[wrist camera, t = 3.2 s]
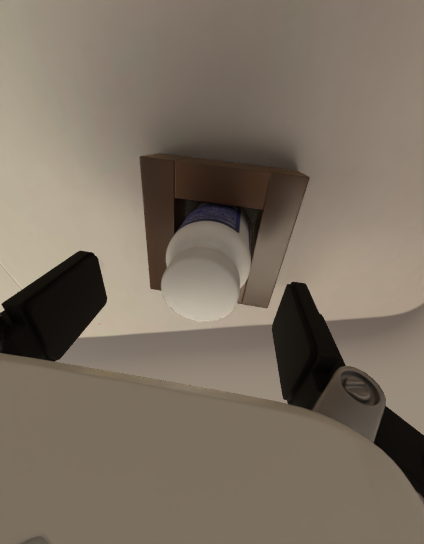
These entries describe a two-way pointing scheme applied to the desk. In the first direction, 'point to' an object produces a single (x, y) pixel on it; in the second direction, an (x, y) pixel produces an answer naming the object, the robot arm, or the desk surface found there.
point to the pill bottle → (207, 262)
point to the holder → (228, 191)
